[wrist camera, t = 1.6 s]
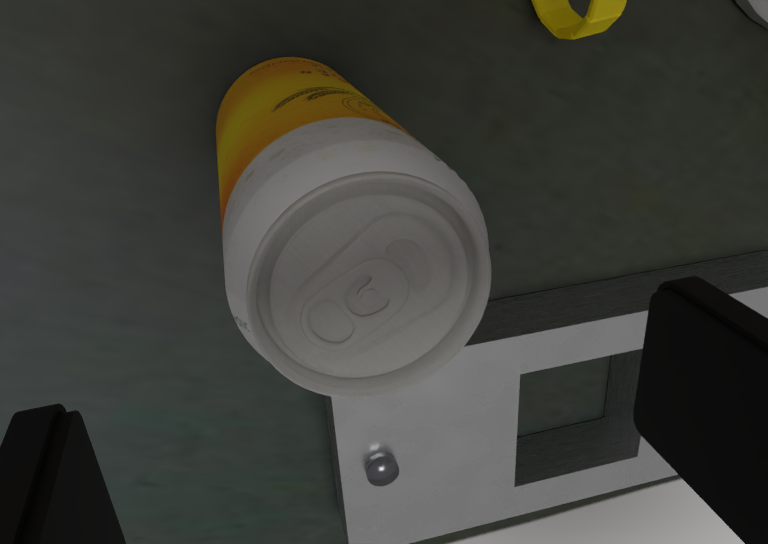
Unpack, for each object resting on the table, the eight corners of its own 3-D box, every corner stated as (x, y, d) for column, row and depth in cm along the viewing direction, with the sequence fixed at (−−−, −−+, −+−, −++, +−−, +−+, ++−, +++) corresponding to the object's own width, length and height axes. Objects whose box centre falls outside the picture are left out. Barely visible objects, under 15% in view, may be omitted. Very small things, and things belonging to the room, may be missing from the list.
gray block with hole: (766, 250, 36) (828, 281, 32) (726, 415, 41) (775, 457, 38) (316, 332, 31) (330, 381, 27) (338, 508, 36) (352, 567, 33)
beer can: (387, 144, 28) (552, 307, 15) (277, 225, 28) (340, 456, 15) (306, 22, 25) (419, 90, 12) (182, 115, 25) (158, 282, 12)
